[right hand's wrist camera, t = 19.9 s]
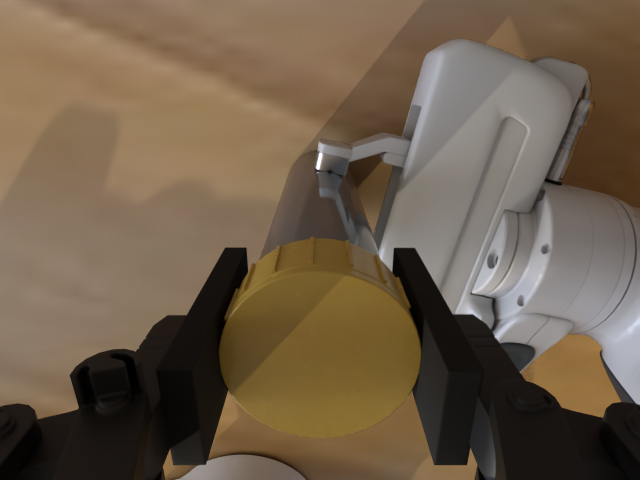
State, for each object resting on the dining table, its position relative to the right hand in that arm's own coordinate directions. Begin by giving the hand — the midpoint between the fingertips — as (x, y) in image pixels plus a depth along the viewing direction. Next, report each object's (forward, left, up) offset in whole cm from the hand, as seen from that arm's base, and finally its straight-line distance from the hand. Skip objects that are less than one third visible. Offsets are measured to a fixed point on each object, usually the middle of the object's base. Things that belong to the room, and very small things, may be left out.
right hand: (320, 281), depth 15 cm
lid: (0, 0, +4) cm, 4 cm away
